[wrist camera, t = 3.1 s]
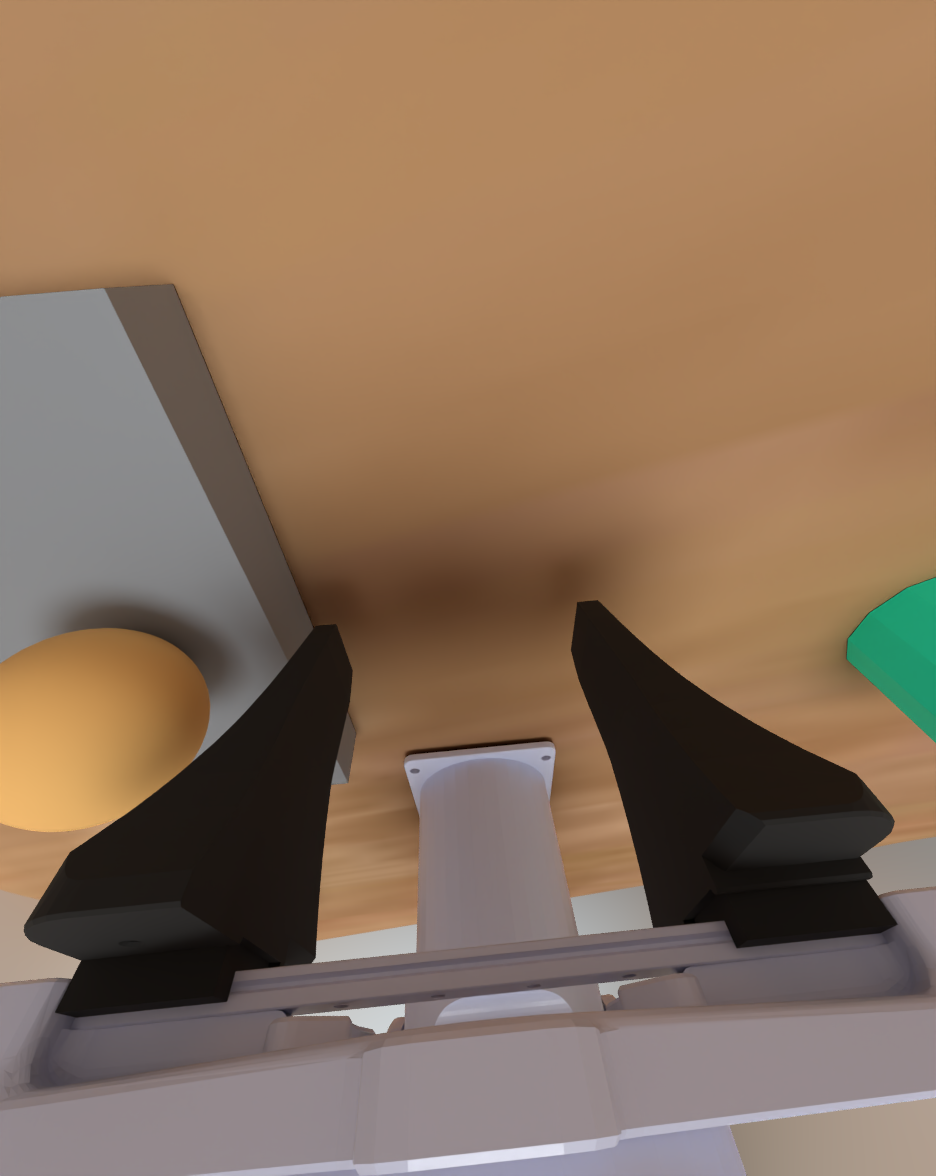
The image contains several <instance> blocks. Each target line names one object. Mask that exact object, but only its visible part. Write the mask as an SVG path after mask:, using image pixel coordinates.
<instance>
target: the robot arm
mask: <svg viewBox="0 0 936 1176" xmlns="http://www.w3.org/2000/svg"><path fill="white" fill-rule="evenodd" d="M571 652H572V656H573V660H574V664H575V668H576V671H577V675H578V679H579V682H580V684H581V687H582V689H583V692H584V694H585V697H586V699H587V702H588V704H589V707H590V709H591V712H592V714H593V717H594V719H595V722H596V724H597V727H598V729H599V732H600V734H601V737H602V739H603V741H604V744H605V746H606V749H607V752H608V755H609V758H610V761H611V764H612V767H613V771H614V774H615V778H616V781H617V784H618V788H619V791H620V795H621V798H622V802H623V806H624V809H625V813H626V817H627V820H628V824H629V828H630V832H631V836H632V840H633V843H634V847H635V851H636V855H637V859H638V863H639V867H640V872H641V876H642V880H643V885H644V889H645V893H646V897H647V901H648V906H649V911H650V915H651V920H652V925H653V928H649V929H641V930H640V929H639V930H630V931H620V932H611V933H601V934H591V935H581V936H578V931H577V927H576V922H575V917H574V913H573V908H572V904H571V899H570V895H569V890H568V885H567V881H566V876H565V872H564V867H563V862H562V858H561V853H560V849H559V844H558V840H557V835H556V830H555V826H554V821H553V817H552V812H551V808H550V795H551V786H552V778H553V770H554V761H555V753H556V751H555V747H554V744H553V743H552V742H549V741H544V742H534V743H524V744H514V745H504V746H494V747H483V748H473V749H463V750H453V751H443V752H433V753H423V754H413V755H409V756H407V757H406V758H405V759H404V768H405V771H406V774H407V778H408V781H409V784H410V787H411V790H412V794H413V797H414V800H415V803H416V807H417V810H418V813H419V816H420V827H419V869H418V911H417V953H408V954H399V955H389V956H379V957H370V958H360V959H351V960H341V961H331V962H322V963H312V962H313V960H314V959H315V958H316V938H317V922H318V907H319V893H320V881H321V869H322V858H323V848H324V839H325V830H326V821H327V813H328V805H329V797H330V789H331V783H332V778H333V773H334V768H335V764H336V760H337V755H338V751H339V747H340V742H341V738H342V734H343V729H344V725H345V720H346V716H347V712H348V707H349V702H350V693H351V683H352V671H353V670H352V667H351V664H350V662H349V659H348V656H347V653H346V650H345V647H344V645H343V642H342V639H341V636H340V633H339V630H338V627H337V625H336V624H333V625H322V626H316V627H315V628H314V629H313V630H312V631H311V633H310V634H309V635H308V636H307V638H306V639H305V640H304V642H303V643H302V644H301V646H300V647H299V648H298V649H297V651H296V652H295V653H294V655H293V656H292V657H291V658H290V660H289V661H288V662H287V664H286V665H285V666H284V667H283V669H282V670H281V671H280V672H279V673H278V675H277V676H276V677H275V678H274V680H273V681H272V682H271V683H270V684H269V686H268V687H267V688H266V689H265V690H264V691H263V693H262V694H261V695H260V696H259V697H258V698H257V699H256V700H255V702H254V703H253V704H252V705H251V706H250V707H249V708H248V709H247V710H246V712H245V713H244V714H243V715H242V716H241V717H240V718H239V719H238V720H237V721H236V722H235V723H234V724H233V725H232V726H231V727H230V728H229V729H228V730H227V731H226V732H225V733H224V734H223V735H222V736H221V737H220V738H219V739H218V740H216V741H215V742H214V743H213V744H212V745H211V746H210V747H209V748H208V749H206V750H205V751H204V752H203V753H202V754H201V755H200V756H198V757H197V758H196V759H195V760H194V761H193V762H191V763H190V764H189V765H188V766H187V767H186V768H184V769H183V770H182V771H181V772H180V773H179V774H177V775H176V776H175V777H174V778H173V779H171V780H170V781H169V782H167V783H166V784H165V785H164V786H162V787H161V788H160V789H159V790H157V791H156V792H155V793H153V794H152V795H151V796H149V797H148V798H147V799H145V800H144V801H143V802H142V803H140V804H139V805H138V806H136V807H135V808H133V809H132V810H131V811H129V812H128V813H127V814H125V815H124V816H122V817H121V818H120V819H118V820H117V821H115V822H114V823H112V824H111V825H109V826H108V827H106V828H105V829H104V830H102V831H101V832H99V833H98V834H96V835H95V836H93V837H92V838H90V839H89V840H88V841H86V842H85V843H83V844H82V845H80V846H79V847H77V848H76V849H74V850H73V851H71V852H70V853H69V855H68V856H67V858H66V859H65V861H64V862H63V864H62V866H61V867H60V869H59V870H58V872H57V874H56V875H55V877H54V878H53V880H52V882H51V883H50V885H49V887H48V888H47V890H46V891H45V893H44V895H43V896H42V898H41V899H40V901H39V903H38V904H37V906H36V907H35V909H34V911H33V912H32V914H31V915H30V917H29V919H28V920H27V922H26V924H25V925H24V933H25V936H26V937H27V938H28V939H29V940H30V941H32V942H34V943H36V944H38V945H41V946H43V947H46V948H49V949H51V950H54V951H57V952H59V953H62V954H65V955H68V956H71V957H73V958H76V959H79V960H81V962H80V964H79V966H78V968H77V970H76V972H75V974H74V976H73V978H72V979H65V978H47V979H38V980H28V981H18V982H9V983H0V1176H746V1173H745V1169H744V1167H743V1164H742V1161H741V1158H740V1155H739V1152H738V1149H737V1146H736V1143H735V1141H734V1138H733V1135H732V1132H731V1129H730V1126H729V1125H733V1124H741V1123H748V1122H755V1121H763V1120H771V1119H778V1118H786V1117H793V1116H801V1115H808V1114H816V1113H824V1112H831V1111H839V1110H846V1109H854V1108H861V1107H869V1106H876V1105H884V1104H891V1103H899V1102H907V1101H914V1100H921V1099H929V1098H936V887H926V888H917V889H907V890H899V891H892V892H888V893H884V894H881V895H879V896H877V894H876V893H875V891H874V890H873V888H872V887H871V886H870V884H869V883H868V881H867V880H868V879H871V878H872V877H873V876H872V872H871V871H870V869H869V868H868V866H867V865H866V864H865V863H864V861H863V860H862V858H861V857H860V856H861V855H863V854H864V853H866V852H867V851H868V850H869V849H871V848H872V847H874V846H875V845H876V844H878V843H879V842H880V841H882V840H883V839H884V838H885V837H886V836H888V835H889V834H890V833H891V831H892V829H893V826H894V822H895V821H894V819H893V817H892V815H891V814H890V813H889V812H888V811H887V809H886V808H885V807H884V806H883V805H882V803H881V802H880V801H879V800H878V799H877V797H876V796H875V795H874V794H873V793H872V791H871V790H870V789H869V788H868V787H867V786H866V784H865V783H864V782H863V781H862V780H861V779H860V778H859V777H858V776H857V774H855V773H853V772H851V771H849V770H847V769H845V768H843V767H840V766H838V765H836V764H834V763H832V762H830V761H828V760H825V759H823V758H821V757H819V756H817V755H815V754H813V753H810V752H808V751H806V750H804V749H802V748H800V747H798V746H796V745H794V744H792V743H790V742H789V741H787V740H785V739H783V738H781V737H779V736H777V735H775V734H773V733H771V732H769V731H768V730H766V729H764V728H762V727H761V726H759V725H757V724H755V723H753V722H752V721H750V720H748V719H747V718H745V717H743V716H742V715H740V714H738V713H737V712H735V711H733V710H732V709H730V708H728V707H727V706H725V705H724V704H722V703H721V702H719V701H717V700H716V699H714V698H713V697H711V696H710V695H708V694H707V693H706V692H704V691H703V690H701V689H700V688H698V687H697V686H695V685H694V684H693V683H691V682H690V681H688V680H687V679H686V678H684V677H683V676H682V675H680V674H679V673H678V672H676V671H675V670H674V669H673V668H671V667H670V666H669V665H668V664H666V663H665V662H664V661H663V660H662V659H660V658H659V657H658V656H657V655H656V654H654V653H653V652H652V651H651V650H650V649H649V648H648V647H647V646H645V645H644V644H643V643H642V642H641V641H640V640H639V639H638V638H636V637H635V636H634V635H633V634H632V633H631V632H630V631H629V630H628V629H627V628H626V627H625V626H624V625H623V624H622V623H621V622H620V621H619V620H618V619H616V618H615V617H614V616H613V615H612V614H611V613H610V612H609V611H608V610H607V609H606V608H605V607H604V606H603V605H602V604H601V603H600V602H599V601H598V600H596V601H585V602H577V608H576V616H575V624H574V631H573V639H572V646H571ZM653 977H657V978H653ZM643 978H653V979H648V980H644V981H639V982H635V983H631V984H627V985H622V986H620V987H619V990H618V995H619V998H617V999H616V998H615V997H614V996H613V995H610V994H607V995H600V991H599V987H598V983H605V982H615V981H624V980H634V979H643ZM397 1004H405V1017H399V1018H396V1019H394V1020H393V1022H392V1023H391V1025H390V1026H389V1029H388V1031H387V1033H381V1034H375V1032H374V1031H373V1030H372V1029H368V1028H363V1027H359V1026H356V1025H354V1024H352V1021H351V1019H350V1018H349V1017H348V1016H294V1017H293V1015H303V1014H312V1013H321V1012H331V1011H341V1010H350V1009H360V1008H369V1007H377V1006H388V1005H397Z"/></svg>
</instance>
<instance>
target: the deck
mask: <svg viewBox="0 0 936 1176" xmlns="http://www.w3.org/2000/svg"><path fill="white" fill-rule="evenodd" d="M97 628H120V629H128V630H135V631H139V632H144V633H147V634H151V635H154V636H156V637H159V638H161V639H163V640H166V641H167V642H169V643H171V644H173V645H174V646H176V647H177V648H179V649H180V650H181V651H182V652H184V653H185V654H186V655H187V656H188V657H189V658H190V659H191V660H192V661H193V662H194V663H195V665H196V666H197V667H198V669H199V671H200V672H201V674H202V676H203V677H204V680H205V683H206V685H207V688H208V692H209V698H210V719H209V724H208V729H207V732H206V735H205V738H204V740H203V743H202V745H201V747H200V749H199V751H198V753H197V754H196V756H195V758H194V759H193V761H194V760H195V759H196V758H197V757H198V756H200V755H201V754H202V753H203V752H204V751H205V750H206V749H208V748H209V747H210V746H211V745H212V744H213V743H214V742H215V741H216V740H218V739H219V738H220V737H221V736H222V735H223V734H224V733H225V732H226V731H227V730H228V729H229V728H230V727H231V726H232V725H233V724H234V723H235V722H236V721H237V720H238V719H239V718H240V717H241V716H242V715H243V714H244V713H245V712H246V710H247V709H248V708H249V707H250V706H251V705H252V704H253V703H254V702H255V700H256V699H257V698H258V697H259V696H260V695H261V694H262V693H263V691H264V690H265V689H266V688H267V687H268V686H269V684H270V683H271V682H272V681H273V680H274V678H275V677H276V676H277V675H278V673H279V672H280V671H281V670H282V669H283V667H284V666H285V665H286V664H287V662H288V661H289V660H290V658H291V657H292V656H293V655H294V653H295V652H296V651H297V649H298V648H299V647H300V646H301V644H302V643H303V642H304V640H305V639H306V638H307V636H308V635H309V634H310V633H311V631H312V630H313V626H312V624H311V621H310V619H309V616H308V614H307V611H306V609H305V607H304V604H303V602H302V599H301V597H300V594H299V592H298V589H297V587H296V584H295V582H294V580H293V577H292V575H291V572H290V570H289V567H288V565H287V562H286V560H285V558H284V555H283V553H282V550H281V548H280V545H279V543H278V540H277V538H276V535H275V533H274V531H273V528H272V526H271V523H270V521H269V518H268V516H267V513H266V511H265V508H264V506H263V504H262V501H261V499H260V496H259V494H258V491H257V489H256V486H255V484H254V482H253V479H252V477H251V474H250V472H249V469H248V467H247V464H246V462H245V459H244V457H243V455H242V452H241V450H240V447H239V445H238V442H237V440H236V437H235V435H234V433H233V430H232V428H231V425H230V423H229V420H228V418H227V415H226V413H225V410H224V408H223V406H222V403H221V401H220V398H219V396H218V393H217V391H216V388H215V386H214V384H213V381H212V379H211V376H210V374H209V371H208V369H207V366H206V364H205V361H204V359H203V357H202V354H201V352H200V349H199V347H198V344H197V342H196V339H195V337H194V335H193V332H192V330H191V327H190V325H189V322H188V320H187V317H186V315H185V312H184V310H183V308H182V305H181V303H180V300H179V298H178V295H177V293H176V290H175V288H174V285H173V284H168V285H151V286H133V287H116V288H101V289H89V290H77V291H65V292H53V293H41V294H29V295H17V296H5V297H0V663H2V662H3V661H5V660H6V659H8V658H9V657H11V656H12V655H14V654H16V653H17V652H19V651H21V650H22V649H25V648H27V647H29V646H31V645H33V644H36V643H38V642H40V641H42V640H45V639H48V638H51V637H54V636H57V635H61V634H64V633H68V632H74V631H79V630H85V629H97ZM355 738H356V732H355V729H354V727H353V724H352V722H351V719H350V717H349V714H348V712H347V716H346V720H345V725H344V729H343V734H342V738H341V742H340V747H339V751H338V755H337V760H336V764H335V768H334V773H333V778H332V783H331V785H334V784H344V783H348V781H349V775H350V769H351V763H352V757H353V751H354V744H355ZM193 761H192V762H193Z"/></svg>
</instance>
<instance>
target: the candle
mask: <svg viewBox="0 0 936 1176" xmlns="http://www.w3.org/2000/svg"><path fill="white" fill-rule="evenodd" d="M847 660H848V661H849V662H850V663H851V664H852V665H853V666H855V667H856V668H857V669H858V670H859V671H860V672H861V673H862V674H863V675H864V676H865V677H866V678H867V679H868V680H869V681H870V682H872V683H873V684H874V685H875V686H876V687H877V688H878V689H879V690H880V691H881V692H882V693H883V694H884V695H885V696H886V697H887V698H889V699H890V700H891V701H892V702H893V703H894V704H895V705H896V706H897V707H898V708H899V709H900V710H901V711H902V712H903V713H905V714H906V715H907V716H908V717H909V718H910V719H911V720H912V721H913V722H914V723H915V724H916V725H917V726H918V727H919V728H920V729H922V730H923V731H924V732H925V733H926V734H927V735H928V736H929V737H930V738H931V739H932V740H933V741H934V742H935V743H936V577H935V578H933V579H930V580H927V581H925V582H922V583H919V584H916V585H914V586H911V587H908V588H906V589H905V590H903V591H902V592H900V593H899V594H897V595H896V596H894V597H893V598H891V599H890V600H888V601H887V602H885V603H884V604H882V605H881V606H879V607H878V608H876V609H875V610H873V611H872V612H870V613H869V614H868V615H867V616H866V618H865V619H864V620H863V621H862V622H861V624H860V625H859V626H858V627H857V629H856V630H855V631H854V632H853V634H852V635H851V636H850V637H849V638H848V645H847Z"/></svg>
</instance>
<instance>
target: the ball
mask: <svg viewBox="0 0 936 1176" xmlns="http://www.w3.org/2000/svg"><path fill="white" fill-rule="evenodd" d="M209 719H210V698H209V692H208V688H207V685H206V683H205V680H204V677H203V676H202V674H201V672H200V671H199V669H198V667H197V666H196V665H195V663H194V662H193V661H192V660H191V659H190V658H189V657H188V656H187V655H186V654H185V653H184V652H182V651H181V650H180V649H179V648H177V647H176V646H174V645H173V644H171V643H169V642H167V641H166V640H163V639H161V638H159V637H156V636H154V635H151V634H147V633H144V632H139V631H135V630H128V629H120V628H97V629H85V630H79V631H74V632H68V633H64V634H61V635H57V636H54V637H51V638H48V639H45V640H42V641H40V642H38V643H36V644H33V645H31V646H29V647H27V648H25V649H22V650H21V651H19V652H17V653H16V654H14V655H12V656H11V657H9V658H8V659H6V660H5V661H3V662H2V663H0V823H2V824H5V825H8V826H12V827H16V828H20V829H25V830H31V831H40V832H62V831H71V830H79V829H85V828H89V827H93V826H97V825H101V824H104V823H107V822H110V821H113V820H115V819H118V818H120V817H122V816H124V815H125V814H127V813H128V812H129V811H131V810H132V809H133V808H135V807H136V806H138V805H139V804H140V803H142V802H143V801H144V800H145V799H147V798H148V797H149V796H151V795H152V794H153V793H155V792H156V791H157V790H159V789H160V788H161V787H162V786H164V785H165V784H166V783H167V782H169V781H170V780H171V779H173V778H174V777H175V776H176V775H177V774H179V773H180V772H181V771H182V770H183V769H184V768H186V767H187V766H188V765H189V764H190V763H191V762H192V761H193V759H194V758H195V756H196V754H197V753H198V751H199V749H200V747H201V745H202V743H203V740H204V738H205V735H206V732H207V729H208V724H209Z"/></svg>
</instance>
